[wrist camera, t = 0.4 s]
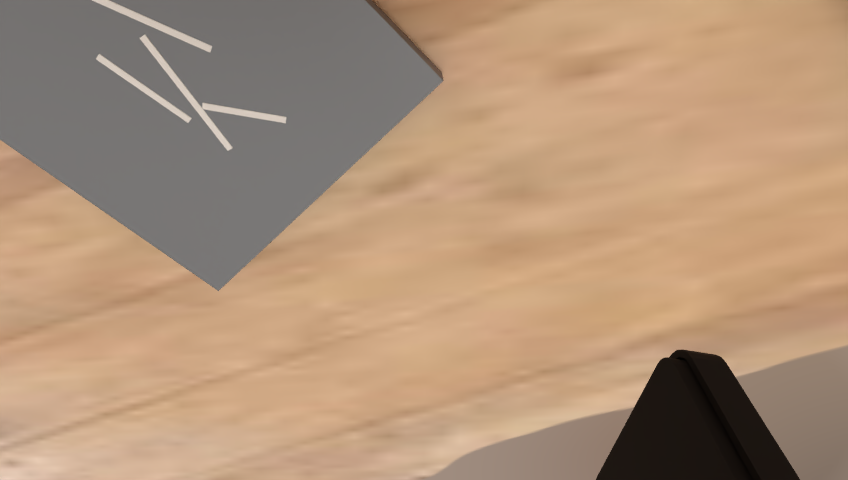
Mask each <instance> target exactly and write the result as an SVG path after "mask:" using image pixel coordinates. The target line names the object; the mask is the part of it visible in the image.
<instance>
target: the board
mask: <svg viewBox="0 0 848 480" xmlns="http://www.w3.org/2000/svg"><path fill="white" fill-rule="evenodd" d="M442 82H443V76H442V73H441V71H440V70H439V69H438V68H437V67H436V66H435V65H434V64H433V63H432V62H431V61H430V60H429V59H428V58H427V57H426V56H425V55H424V54H423V53H422V52H421V51H420V50H419V49H418V48H417V47H416V46H415V45H414V43H413V42H412V41H411V40H410V39H409V38H408V37H407V36H406V35H405V34H404V33H403V32H402V31H401V30H400V29H399V28H398V27H397V26H396V25H395V24H394V23H393V22H392V21H391V20H390V19H389V18H388V17H387V15H386V14H385V13H384V12H383V11H382V10H381V9H380V8H379V7H378V6H377V5H376V4H375V3H374V2H373V1H372V0H0V140H2V141H3V142H4V143H6V144H7V145H9V146H10V147H12V148H13V149H15V150H16V151H17V152H19V153H20V154H22V155H23V156H25V157H26V158H27V159H29V160H30V161H32V162H33V163H35V164H36V165H38V166H39V167H40V168H42V169H43V170H45V171H46V172H48V173H49V174H51V175H52V176H53V177H55V178H56V179H58V180H59V181H61V182H62V183H64V184H65V185H66V186H68V187H69V188H71V189H72V190H74V191H75V192H77V193H78V194H79V195H81V196H82V197H84V198H85V199H87V200H88V201H90V202H91V203H92V204H94V205H95V206H97V207H98V208H100V209H101V210H102V211H104V212H105V213H107V214H108V215H110V216H111V217H113V218H114V219H115V220H117V221H118V222H120V223H121V224H123V225H124V226H126V227H127V228H128V229H130V230H131V231H133V232H134V233H136V234H137V235H139V236H140V237H141V238H143V239H144V240H146V241H147V242H149V243H150V244H152V245H153V246H154V247H156V248H157V249H159V250H160V251H162V252H163V253H165V254H166V255H167V256H169V257H170V258H172V259H173V260H175V261H176V262H177V263H179V264H180V265H182V266H183V267H185V268H186V269H188V270H189V271H190V272H192V273H193V274H195V275H196V276H198V277H199V278H201V279H202V280H203V281H205V282H206V283H208V284H209V285H211V286H212V287H214V288H215V289H216V290H218V291H219V290H220V289H221V288H222V287H223V286H224V285H225V284H226V283H227V282H229V281H230V280H231V279H232V278H233V277H234V276H235V275H236V274H237V273H238V272H239V271H240V270H241V269H242V268H243V267H245V266H246V265H247V264H248V263H249V262H250V261H251V260H252V259H253V258H254V257H255V256H256V255H257V254H258V253H260V252H261V251H262V250H263V249H264V248H265V247H266V246H267V245H268V244H269V243H270V242H271V241H272V240H273V239H275V238H276V237H277V236H278V235H279V234H280V233H281V232H282V231H283V230H284V229H285V228H286V227H287V226H288V225H290V224H291V223H292V222H293V221H294V220H295V219H296V218H297V217H298V216H299V215H300V214H301V213H302V212H303V211H305V210H306V209H307V208H308V207H309V206H310V205H311V204H312V203H313V202H314V201H315V200H316V199H317V198H318V197H320V196H321V195H322V194H323V193H324V192H325V191H326V190H327V189H328V188H329V187H330V186H331V185H332V184H333V183H334V182H336V181H337V180H338V179H339V178H340V177H341V176H342V175H343V174H344V173H345V172H346V171H347V170H348V169H349V168H351V167H352V166H353V165H354V164H355V163H356V162H357V161H358V160H359V159H360V158H361V157H362V156H363V155H364V154H366V153H367V152H368V151H369V150H370V149H371V148H372V147H373V146H374V145H375V144H376V143H377V142H378V141H379V140H381V139H382V138H383V137H384V136H385V135H386V134H387V133H388V132H389V131H390V130H391V129H392V128H393V127H394V126H396V125H397V124H398V123H399V122H400V121H401V120H402V119H403V118H404V117H405V116H406V115H407V114H408V113H409V112H410V111H412V110H413V109H414V108H415V107H416V106H417V105H418V104H419V103H420V102H421V101H422V100H423V99H424V98H425V97H427V96H428V95H429V94H430V93H431V92H432V91H433V90H434V89H435V88H436V87H437V86H438V85H439V84H440V83H442Z"/></svg>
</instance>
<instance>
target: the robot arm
mask: <svg viewBox="0 0 848 480" xmlns="http://www.w3.org/2000/svg"><path fill="white" fill-rule="evenodd" d="M596 480H800V479H799V477H798V476H797V474H796V473H795V471H794V469H793V468H792V466H791V465H790V463H789V461H788V460H787V458H786V457H785V455H784V454H783V452H782V450H781V449H780V447H779V446H778V444H777V442H776V441H775V439H774V438H773V436H772V435H771V433H770V431H769V430H768V428H767V427H766V425H765V423H764V422H763V420H762V419H761V417H760V416H759V414H758V412H757V411H756V409H755V408H754V406H753V404H752V403H751V401H750V400H749V398H748V397H747V395H746V394H745V392H744V390H743V389H742V387H741V385H740V384H739V382H738V381H737V379H736V378H735V376H734V374H733V373H732V371H731V370H730V368H729V366H728V365H727V363H726V362H725V361H724V360H723V359H722V357H720V356H717V355H714V354H707V353H701V352H694V351H688V350H677V351H675V352H674V353H672V355H671V356H670V357H669V358H663V359H661V360H660V361H659V363H658V364H657V366H656V368H655V370H654V372H653V374H652V375H651V377H650V379H649V381H648V383H647V385H646V387H645V388H644V390H643V392H642V394H641V396H640V398H639V400H638V401H637V403H636V405H635V407H634V409H633V411H632V413H631V415H630V417H629V419H628V420H627V422H626V424H625V426H624V428H623V429H622V431H621V433H620V435H619V437H618V439H617V441H616V443H615V444H614V446H613V448H612V450H611V452H610V454H609V456H608V457H607V459H606V461H605V463H604V465H603V467H602V469H601V471H600V473H599V474H598V476H597V479H596Z"/></svg>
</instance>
